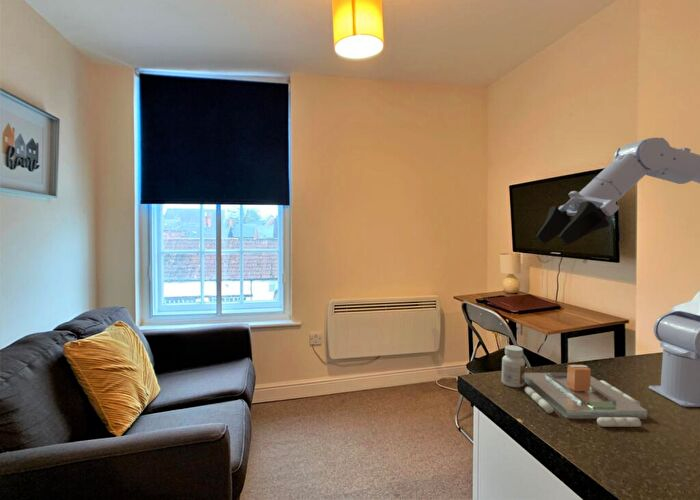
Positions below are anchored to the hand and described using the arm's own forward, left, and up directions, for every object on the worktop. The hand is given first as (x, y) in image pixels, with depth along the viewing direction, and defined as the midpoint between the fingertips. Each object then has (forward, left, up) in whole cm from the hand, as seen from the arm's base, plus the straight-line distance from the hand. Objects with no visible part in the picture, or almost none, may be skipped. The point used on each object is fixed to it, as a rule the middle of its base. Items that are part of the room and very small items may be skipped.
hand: (550, 240), depth 68 cm
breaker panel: (-7, -1, -31) cm, 31 cm away
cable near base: (-15, -1, -31) cm, 34 cm away
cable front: (+2, +2, -31) cm, 31 cm away
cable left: (-7, +10, -31) cm, 33 cm away
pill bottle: (+3, -7, -31) cm, 32 cm away
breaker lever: (-7, -1, -29) cm, 30 cm away
